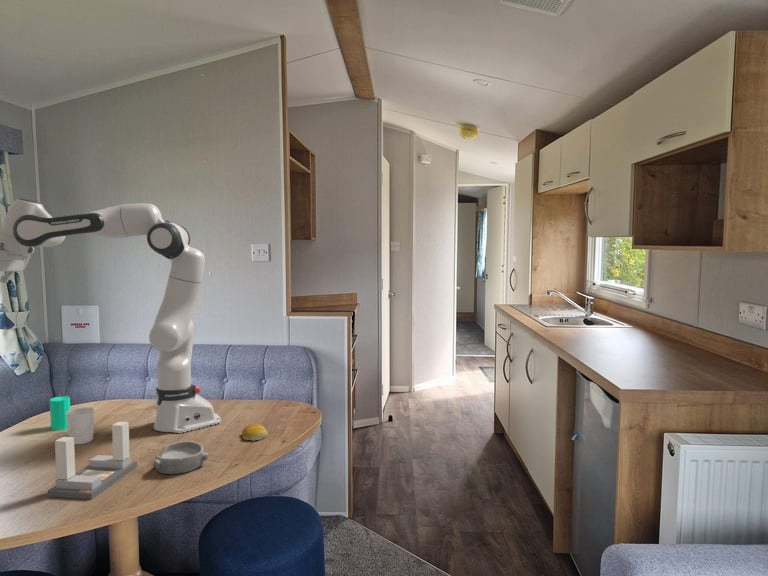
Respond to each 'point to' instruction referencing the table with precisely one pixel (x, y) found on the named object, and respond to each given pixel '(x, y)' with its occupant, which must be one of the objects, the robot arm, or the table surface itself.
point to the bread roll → (254, 432)
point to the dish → (180, 457)
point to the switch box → (93, 478)
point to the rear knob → (120, 440)
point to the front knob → (65, 457)
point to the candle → (59, 412)
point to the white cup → (80, 424)
